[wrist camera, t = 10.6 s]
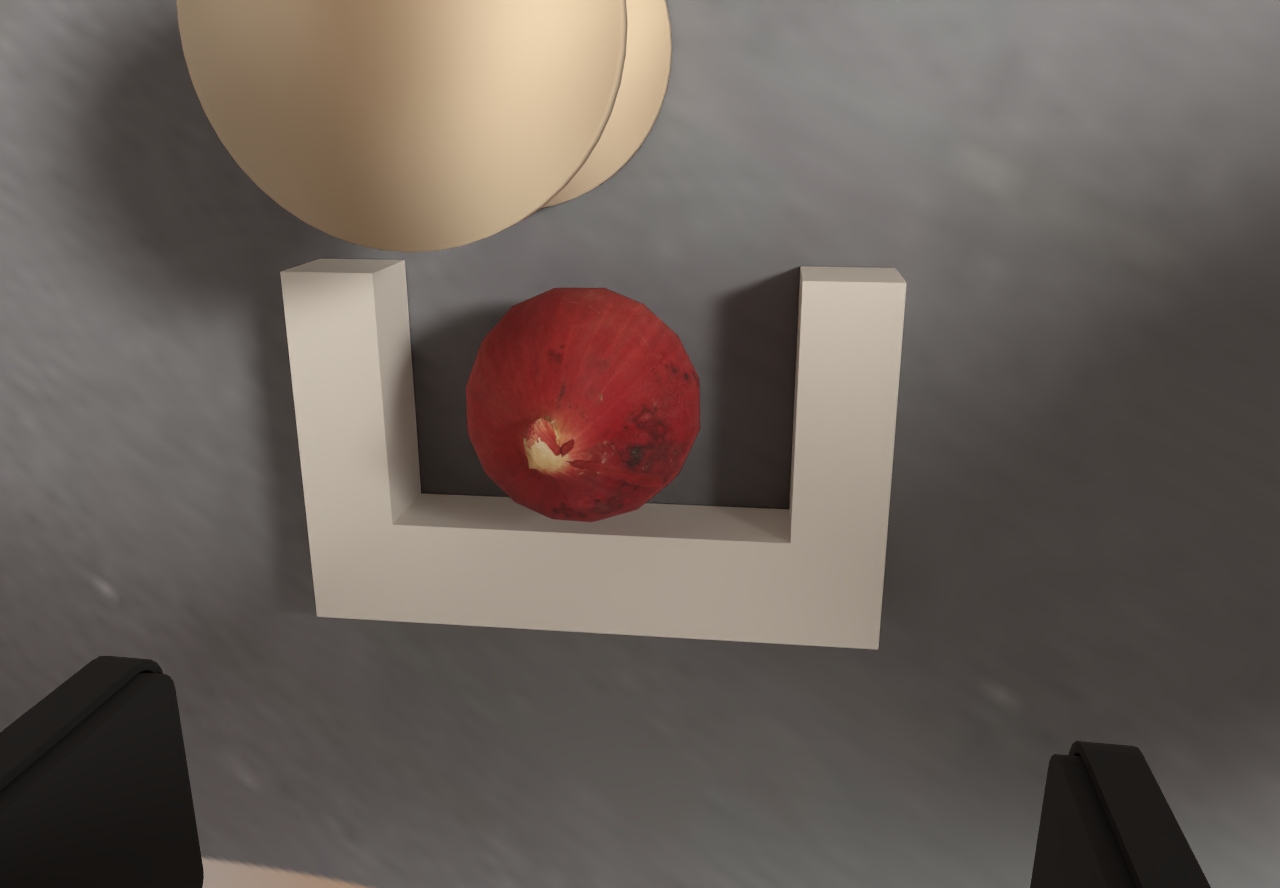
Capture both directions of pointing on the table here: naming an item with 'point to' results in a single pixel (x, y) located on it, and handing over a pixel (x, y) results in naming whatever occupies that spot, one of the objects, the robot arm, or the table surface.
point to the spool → (427, 106)
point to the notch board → (613, 547)
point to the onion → (582, 404)
